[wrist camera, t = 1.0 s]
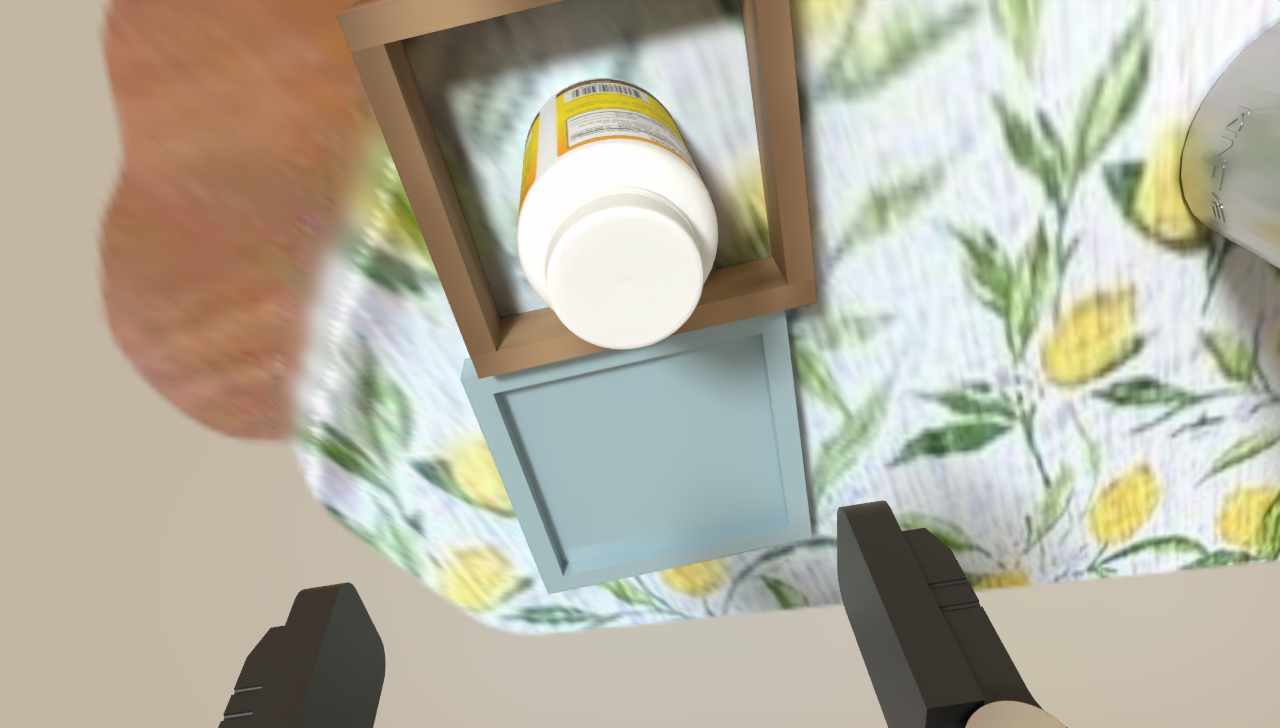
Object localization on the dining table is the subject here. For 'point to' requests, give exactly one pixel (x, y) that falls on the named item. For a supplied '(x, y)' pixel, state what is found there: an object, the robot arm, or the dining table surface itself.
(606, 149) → the supplement bottle
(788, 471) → the tray
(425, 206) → the frame
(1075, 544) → the dining table surface
